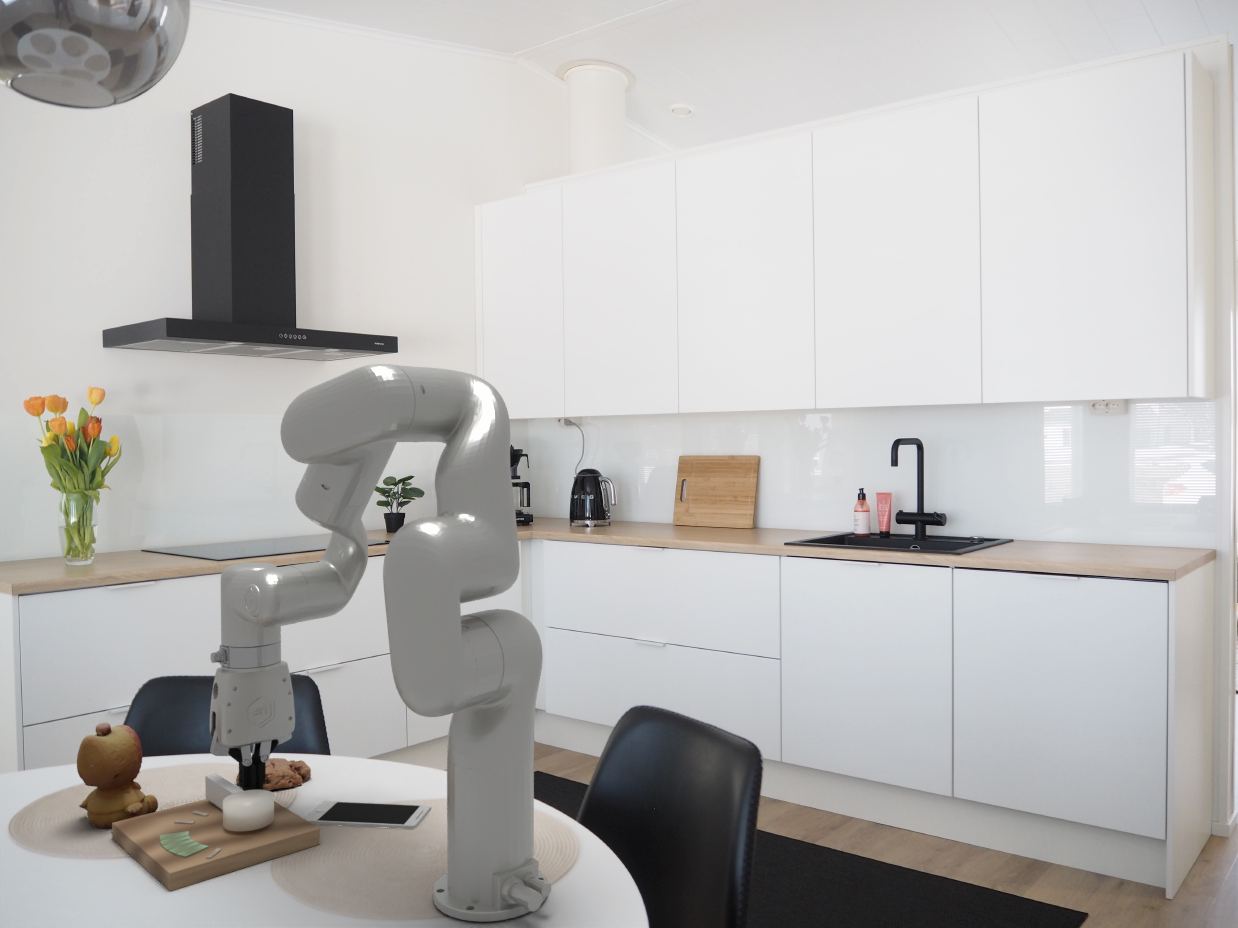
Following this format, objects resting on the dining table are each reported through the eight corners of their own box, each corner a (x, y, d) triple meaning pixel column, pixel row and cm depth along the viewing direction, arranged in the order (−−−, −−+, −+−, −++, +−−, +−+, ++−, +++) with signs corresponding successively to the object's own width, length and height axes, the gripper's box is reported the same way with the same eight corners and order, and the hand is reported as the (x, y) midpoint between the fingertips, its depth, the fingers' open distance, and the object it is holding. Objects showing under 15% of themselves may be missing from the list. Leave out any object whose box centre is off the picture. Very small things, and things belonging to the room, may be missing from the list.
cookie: (242, 773, 147) (242, 754, 147) (314, 768, 149) (314, 749, 149) (229, 797, 137) (229, 776, 137) (307, 791, 139) (307, 771, 139)
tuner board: (319, 843, 120) (319, 826, 120) (170, 890, 107) (169, 871, 107) (251, 801, 134) (251, 785, 134) (112, 838, 122) (112, 821, 122)
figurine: (172, 809, 131) (152, 711, 127) (132, 844, 124) (109, 741, 120) (112, 802, 134) (91, 706, 130) (70, 835, 127) (46, 735, 123)
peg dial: (282, 821, 121) (282, 798, 121) (234, 835, 117) (234, 810, 116) (233, 790, 131) (232, 769, 131) (188, 802, 127) (187, 779, 127)
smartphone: (324, 806, 134) (324, 799, 134) (431, 811, 132) (431, 804, 132) (301, 826, 127) (301, 819, 127) (414, 832, 125) (414, 825, 125)
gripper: (205, 669, 121) (206, 813, 121) (316, 651, 131) (317, 784, 132) (183, 659, 126) (184, 797, 127) (291, 643, 137) (292, 771, 137)
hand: (252, 790), depth 129 cm, fingers closed
